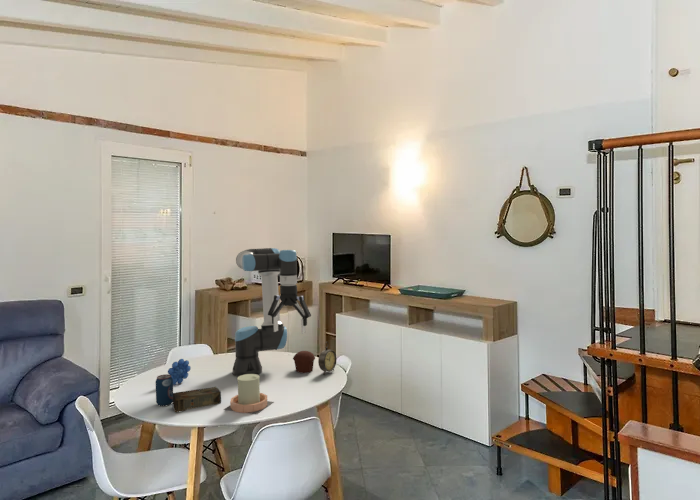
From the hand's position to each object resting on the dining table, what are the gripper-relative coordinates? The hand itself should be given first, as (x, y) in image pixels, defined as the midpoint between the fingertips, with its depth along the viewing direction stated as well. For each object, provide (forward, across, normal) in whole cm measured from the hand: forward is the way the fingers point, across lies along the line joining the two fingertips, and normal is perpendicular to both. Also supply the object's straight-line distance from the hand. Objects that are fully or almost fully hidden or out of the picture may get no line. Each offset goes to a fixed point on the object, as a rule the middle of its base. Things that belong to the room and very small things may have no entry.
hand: (289, 332), depth 209 cm
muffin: (+29, -10, +35) cm, 46 cm away
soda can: (+29, -47, -26) cm, 61 cm away
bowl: (+28, -10, -18) cm, 35 cm away
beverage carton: (+29, -32, -23) cm, 49 cm away
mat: (+28, -10, -18) cm, 35 cm away
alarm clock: (+29, +3, +35) cm, 45 cm away
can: (+27, -10, -18) cm, 34 cm away
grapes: (+29, -60, -2) cm, 67 cm away
